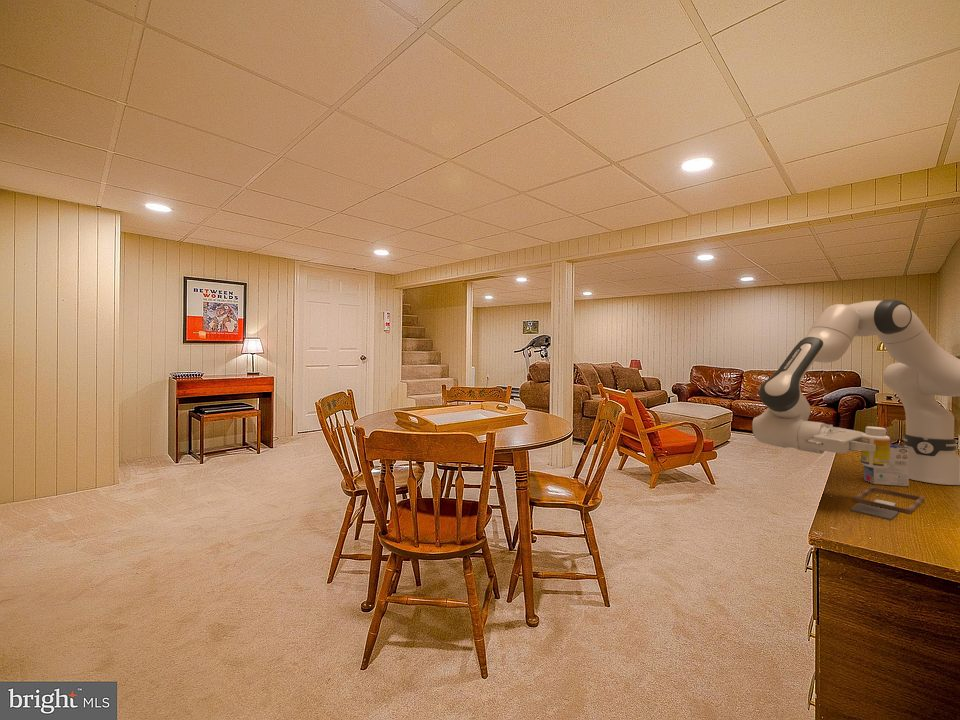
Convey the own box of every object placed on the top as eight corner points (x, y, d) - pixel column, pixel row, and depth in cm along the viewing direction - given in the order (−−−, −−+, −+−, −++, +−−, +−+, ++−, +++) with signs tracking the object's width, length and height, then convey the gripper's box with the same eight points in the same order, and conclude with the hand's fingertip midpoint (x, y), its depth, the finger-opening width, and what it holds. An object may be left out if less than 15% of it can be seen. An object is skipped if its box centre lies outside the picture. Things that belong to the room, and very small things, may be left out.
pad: (859, 504, 119) (859, 502, 119) (898, 513, 112) (899, 511, 112) (850, 510, 114) (850, 508, 114) (891, 520, 108) (891, 518, 108)
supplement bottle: (893, 467, 112) (894, 428, 112) (883, 470, 110) (884, 430, 109) (866, 462, 117) (867, 425, 117) (856, 464, 115) (857, 426, 115)
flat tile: (876, 502, 122) (876, 499, 122) (895, 506, 119) (895, 503, 119) (873, 505, 119) (873, 502, 119) (892, 509, 116) (892, 506, 116)
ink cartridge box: (897, 481, 140) (898, 437, 140) (910, 486, 135) (911, 440, 135) (861, 479, 142) (862, 435, 142) (873, 484, 137) (874, 439, 137)
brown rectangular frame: (870, 489, 131) (870, 486, 131) (924, 500, 122) (924, 497, 122) (852, 501, 121) (852, 497, 121) (910, 514, 112) (910, 510, 112)
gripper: (802, 429, 118) (868, 438, 106) (828, 423, 130) (890, 430, 118) (801, 452, 118) (868, 464, 107) (827, 444, 130) (889, 453, 118)
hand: (880, 446), depth 113 cm, fingers closed on supplement bottle, 5 cm apart
